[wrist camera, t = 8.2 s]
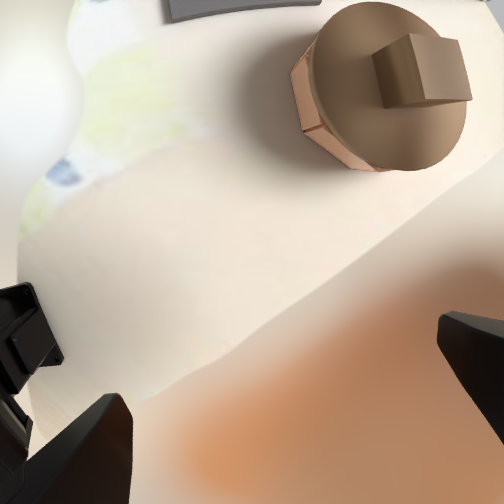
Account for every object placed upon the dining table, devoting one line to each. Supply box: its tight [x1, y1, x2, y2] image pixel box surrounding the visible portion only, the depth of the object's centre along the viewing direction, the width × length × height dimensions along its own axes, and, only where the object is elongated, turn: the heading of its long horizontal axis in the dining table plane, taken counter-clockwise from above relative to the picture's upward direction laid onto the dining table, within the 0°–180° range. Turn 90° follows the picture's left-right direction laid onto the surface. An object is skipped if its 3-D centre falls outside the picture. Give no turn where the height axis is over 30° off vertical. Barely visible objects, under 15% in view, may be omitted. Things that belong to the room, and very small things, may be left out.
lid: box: [308, 2, 473, 171], centre depth 12 cm, size 9×9×4 cm
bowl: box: [290, 41, 392, 172], centre depth 16 cm, size 9×9×4 cm
